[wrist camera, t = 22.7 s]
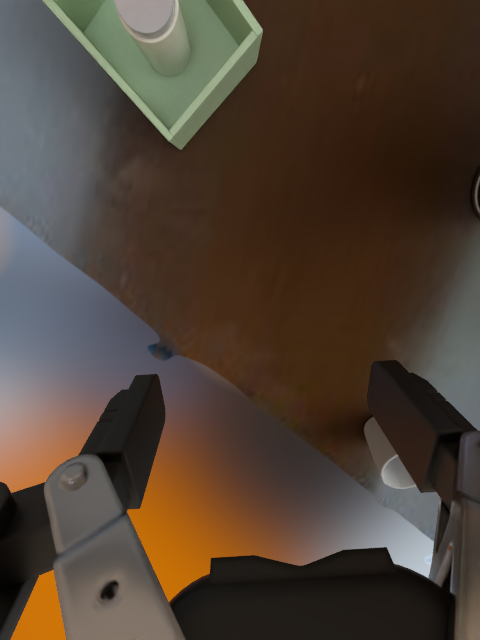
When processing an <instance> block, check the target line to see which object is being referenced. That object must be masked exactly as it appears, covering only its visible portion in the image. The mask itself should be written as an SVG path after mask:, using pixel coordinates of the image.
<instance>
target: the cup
mask: <svg viewBox="0 0 480 640" xmlns="http://www.w3.org/2000/svg"><path fill="white" fill-rule="evenodd" d="M364 434H365V437H366V440H367V442H368V445H369V448H370V451H371V454H372V457H373V459H374V462H375V464H376V467H377V469H378V472H379V474H380V477H381V479H382V481H383V482H384V483H385V484H386V485H388V486H390V487H392V488H397V489H407V488H411V487H415V486H416V484H415V482H414V481H413V479H412V478H411V476H410V474H409V473H408V471H407V470H406V468H405V466H404V465H403V463H402V462H401V460H400V458H399V457H398V455H397V453H396V452H395V450H394V449H393V447H392V445H391V444H390V442H389V441H388V439H387V437H386V436H385V434H384V433H383V431H382V429H381V428H380V426H379V425H378V423H377V421H376V420H375V418H374V416H373V417H372V418H370V419H369V420H368V421H367V422H366V424H365V426H364Z"/></svg>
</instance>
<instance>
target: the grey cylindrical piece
mask: <svg viewBox="0 0 480 640" xmlns="http://www.w3.org/2000/svg"><path fill="white" fill-rule="evenodd" d="M114 3H115V6H116V10H117V13H118V16H119V18H120V21H121V23H122V24H123V26H124V28H125V29H126V31H127V32H128V34H129V35H130V37H131V38H132V40H133V41H134V43H135V44H136V46H137V47H138V49H139V50H140V52H141V53H142V55H143V56H144V58H145V59H146V60H147V62H148V63H149V65H150V66H151V68H152V69H153V70H154V71H156V72H157V73H159V74H160V75H163V76H167V77H172V76H176V75H178V74H180V73H181V72H182V71H183V70H184V69H185V68H186V67H187V65H188V63H189V60H190V56H191V42H190V38H189V34H188V30H187V27H186V23H185V20H184V16H183V13H182V9H181V6H180V2H179V0H114Z"/></svg>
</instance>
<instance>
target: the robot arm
mask: <svg viewBox="0 0 480 640" xmlns="http://www.w3.org/2000/svg"><path fill="white" fill-rule="evenodd" d="M471 199H472V205H473V208H474V211H475V212H476V214H477V215H478V217H479V218H480V168H479V170H478V172H477V174H476V176H475V179H474V182H473V186H472V193H471ZM367 401H368V406H369V409H370V411H371V413H372V415H373V416H374V418H375V420H376V421H377V423H378V425H379V426H380V428H381V429H382V431H383V433H384V434H385V436H386V437H387V439H388V441H389V442H390V444H391V445H392V447H393V449H394V450H395V452H396V453H397V455H398V457H399V458H400V460H401V462H402V463H403V465H404V466H405V468H406V470H407V471H408V473H409V474H410V476H411V478H412V479H413V481H414V482H415V484H416V486H417V487H418V489H419V491H420V492H421V493H424V492H437V493H438V495H439V496H440V498H441V500H440V503H439V507H438V515H437V524H436V532H435V540H434V549H433V557H432V564H431V569H430V574H429V578H427V577H425V576H423V575H421V574H419V573H417V572H415V571H413V570H410V569H408V568H405V567H402V566H400V565H396V564H394V563H393V561H392V559H391V557H390V554H389V552H388V550H387V548H386V547H384V548H368V549H352V550H342V551H340V552H337V553H335V554H332V555H330V556H327V557H325V558H322V559H320V560H317V561H314V562H312V563H309V564H307V565H304V566H297V565H292V564H288V563H283V562H279V561H275V560H271V559H267V558H262V557H259V556H254V555H253V556H237V557H220V558H211V567H210V568H211V569H210V574H208V575H206V576H203V577H201V578H199V579H198V580H196V581H194V582H192V583H191V584H189V585H188V586H187V587H185V588H184V589H183V590H181V591H180V592H179V593H178V594H177V595H176V596H175V597H174V598H173V599H172V600H171V601H170V602H168V600H167V598H166V596H165V594H164V592H163V589H162V587H161V585H160V583H159V580H158V578H157V576H156V574H155V572H154V570H153V568H152V565H151V563H150V561H149V559H148V556H147V554H146V553H145V550H144V548H143V546H142V544H141V541H140V539H139V537H138V535H137V532H136V530H135V528H134V526H133V524H132V522H131V519H130V517H129V515H128V514H127V509H139V508H140V507H141V503H142V500H143V496H144V492H145V489H146V486H147V482H148V479H149V476H150V472H151V468H152V465H153V461H154V458H155V455H156V451H157V448H158V444H159V441H160V437H161V433H162V430H163V427H164V423H165V405H164V401H163V395H162V390H161V385H160V380H159V377H158V375H157V374H150V375H137V376H135V378H134V380H133V382H132V384H131V386H130V387H129V389H128V390H121V391H120V392H119V393H117V394H116V395H115V396H114V397H113V398H112V399H111V400H110V402H109V403H108V405H107V407H106V408H105V411H104V413H103V414H102V415H101V417H100V419H99V422H97V424H96V426H95V427H94V429H93V431H92V433H91V434H90V436H89V438H88V440H87V441H86V443H85V445H84V447H83V448H82V450H81V452H80V453H79V455H78V456H76V457H74V458H71V459H69V460H67V461H66V462H64V463H63V464H61V465H60V466H58V467H57V468H56V469H55V470H54V471H53V472H52V473H51V474H50V476H49V477H48V479H47V480H46V482H44V483H41V484H39V485H36V486H32V487H29V488H26V489H23V490H20V491H17V492H14V493H11V492H10V490H9V488H8V487H7V485H6V484H4V483H2V482H0V640H10V639H11V637H12V635H13V632H14V630H15V628H16V626H17V623H18V621H19V619H20V617H21V615H22V612H23V610H24V608H25V606H26V603H27V601H28V599H29V597H30V594H31V592H32V590H33V588H34V586H35V583H36V581H37V579H38V577H39V575H41V574H44V573H46V572H49V571H51V570H54V575H55V580H56V586H57V591H58V596H59V602H60V607H61V613H62V618H63V623H64V629H65V634H66V640H480V431H478V430H477V429H476V428H474V427H473V426H472V425H471V424H470V423H469V422H468V421H467V420H466V419H465V418H464V417H463V416H462V415H461V414H460V413H459V412H458V411H457V410H456V409H455V408H454V407H453V406H452V405H451V404H450V403H449V402H448V401H446V399H445V398H444V397H443V396H442V395H441V394H440V393H437V390H436V389H435V388H434V387H433V386H432V385H431V384H430V383H429V382H428V381H427V380H425V379H423V378H421V377H419V376H418V375H416V374H414V373H409V372H408V371H407V370H406V369H405V368H404V367H403V366H402V365H401V364H400V363H399V362H398V361H396V360H389V361H375V362H373V364H372V367H371V374H370V381H369V387H368V394H367Z"/></svg>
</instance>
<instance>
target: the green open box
mask: <svg viewBox="0 0 480 640" xmlns="http://www.w3.org/2000/svg"><path fill="white" fill-rule="evenodd" d="M42 1H43V2H44V3H45V4H46V5H47V6H48V7H49V9H50V10H51V11H52V12H53V13H54V14H55V15H56V16H57V17H58V19H59V20H60V21H61V22H62V23H63V24H64V25H65V26H66V27H67V29H68V30H69V31H70V32H71V33H72V34H73V35H74V36H75V38H76V39H77V40H78V41H79V42H80V43H81V44H82V45H83V46H84V48H85V49H86V50H87V51H88V52H89V53H90V54H91V55H92V56H93V58H94V59H95V60H96V61H97V62H98V63H99V64H100V65H101V67H102V68H103V69H104V70H105V71H106V72H107V73H108V74H109V75H110V77H111V78H112V79H113V80H114V81H115V82H116V83H117V84H118V85H119V87H120V88H121V89H122V90H123V91H124V92H125V93H126V94H127V95H128V97H129V98H130V99H131V100H132V101H133V102H134V103H135V104H136V106H137V107H138V108H139V109H140V110H141V111H142V112H143V113H144V114H145V116H146V117H147V118H148V119H149V120H150V121H151V122H152V123H153V124H154V126H155V127H156V128H157V129H158V130H159V131H160V132H161V133H162V135H163V136H164V137H165V138H166V139H167V140H168V141H169V142H170V143H172V144H173V145H174V146H176V147H177V148H178V149H180V150H182V148H183V147H184V146H185V145H186V144H187V143H188V141H189V140H190V139H191V138H192V137H193V136H194V134H195V133H196V132H197V131H198V130H199V129H200V128H201V126H202V125H203V124H204V123H205V122H206V121H207V119H208V118H209V117H210V116H211V115H212V114H213V112H214V111H215V110H216V109H217V108H218V107H219V106H220V104H221V103H222V102H223V101H224V100H225V99H226V97H227V96H228V95H229V94H230V93H231V92H232V91H233V89H234V88H235V87H236V86H237V85H238V84H239V82H240V81H241V80H242V79H243V78H244V77H245V75H246V74H247V73H248V72H249V71H250V70H251V69H252V67H253V66H254V65H255V64H256V63H257V58H258V53H259V48H260V43H261V38H262V33H263V29H262V28H261V26H260V25H259V24H258V22H257V21H256V19H255V18H254V16H253V15H252V13H251V12H250V10H249V9H248V8H247V6H246V5H245V3H244V2H243V0H179V2H180V6H181V9H182V13H183V16H184V20H185V23H186V27H187V30H188V34H189V38H190V42H191V56H190V60H189V63H188V65H187V67H186V68H185V69H184V70H183V71H182V72H181V73H180V74H178V75H176V76H172V77H167V76H163V75H160V74H159V73H157V72H156V71H154V70H153V69H152V68H151V66H150V65H149V63H148V62H147V60H146V59H145V58H144V56H143V55H142V53H141V52H140V50H139V49H138V47H137V46H136V44H135V43H134V41H133V40H132V38H131V37H130V35H129V34H128V32H127V31H126V29H125V28H124V26H123V24H122V23H121V21H120V18H119V16H118V13H117V10H116V6H115V3H114V0H42Z"/></svg>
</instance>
